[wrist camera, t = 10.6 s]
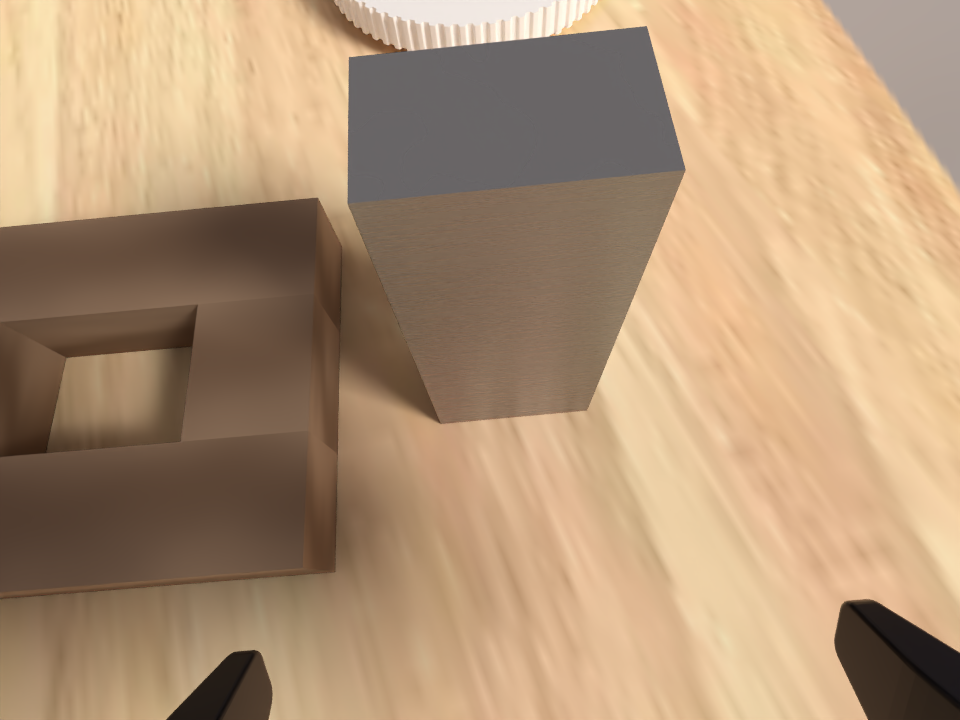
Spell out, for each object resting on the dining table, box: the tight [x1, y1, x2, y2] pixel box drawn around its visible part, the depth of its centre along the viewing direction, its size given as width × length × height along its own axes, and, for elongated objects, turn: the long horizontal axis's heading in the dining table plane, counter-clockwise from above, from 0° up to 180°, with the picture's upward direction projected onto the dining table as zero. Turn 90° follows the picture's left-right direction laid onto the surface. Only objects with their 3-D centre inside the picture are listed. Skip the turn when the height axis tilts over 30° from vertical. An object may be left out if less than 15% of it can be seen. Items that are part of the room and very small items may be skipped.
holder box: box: [0, 198, 342, 599], centre depth 19 cm, size 12×14×3 cm
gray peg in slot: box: [348, 26, 685, 424], centre depth 15 cm, size 3×5×12 cm, turn 95°
